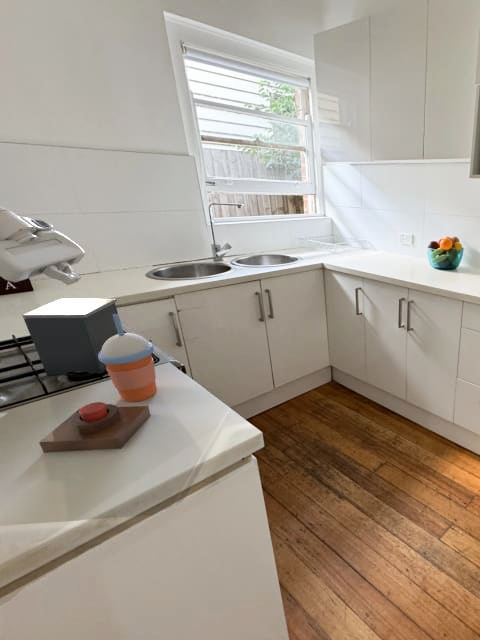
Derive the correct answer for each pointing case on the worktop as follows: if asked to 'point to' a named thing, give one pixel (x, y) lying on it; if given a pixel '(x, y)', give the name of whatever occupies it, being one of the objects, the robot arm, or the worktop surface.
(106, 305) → the box lid
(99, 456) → the worktop surface
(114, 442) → the block
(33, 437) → the worktop surface
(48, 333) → the grey bin
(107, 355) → the cup with straw
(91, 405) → the button
